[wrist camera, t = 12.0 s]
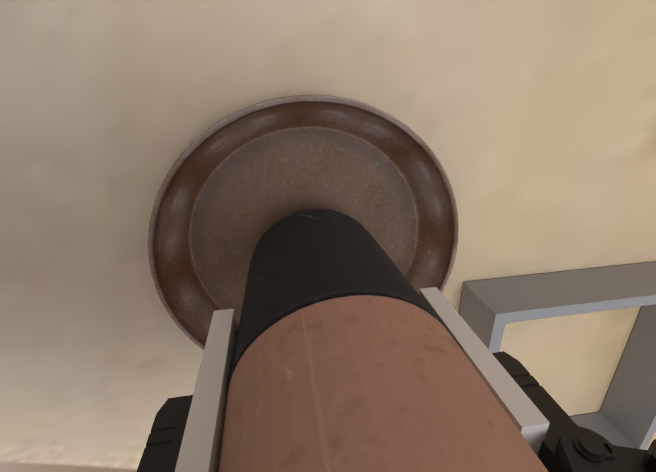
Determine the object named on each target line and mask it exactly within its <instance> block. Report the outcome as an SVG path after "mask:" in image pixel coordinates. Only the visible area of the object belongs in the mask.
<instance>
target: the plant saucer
mask: <svg viewBox="0 0 656 472" xmlns="http://www.w3.org/2000/svg"><path fill="white" fill-rule="evenodd" d="M309 209H328V210H333V211H337V212H341V213H343V214H346V215H348V216H350V217H352V218H353V219H355V220H356V221H358V222H359V223H360V224H361V225H362V226H363V227H364V228H365V229H366V230H367V231H368V232H369V233H370V234H371V235H372V236H373V238H374V239H375V240H376V241H377V242H378V244H379V245H380V246H381V247H382V249H383V250H384V251H385V252H386V254H387V255H388V256H389V257H390V259H391V260H392V261H393V262H394V264H395V265H396V266H397V268H398V269H399V270H400V271H401V273H402V274H403V275H404V276H405V278H406V279H407V280H408V281H409V283H410V284H411V285H412V286H413V288H414V289H415V290H416V291H417V293H418V294H419V289H422V288H431V287H437V288H438V290H439V291H440V292H441V293H442V291H443V289H444V287H445V285H446V283H447V281H448V278H449V276H450V273H451V270H452V267H453V264H454V260H455V255H456V251H457V244H458V213H457V207H456V201H455V197H454V193H453V190H452V187H451V184H450V182H449V179H448V177H447V175H446V173H445V171H444V169H443V167H442V165H441V163H440V162H439V160H438V159H437V157H436V156H435V154H434V153H433V152H432V150H431V149H430V148H429V147H428V146H427V144H426V143H425V142H424V141H423V140H422V139H421V138H420V137H419V136H418V135H417V134H416V133H415V132H413V131H412V130H411V129H410V128H409V127H407V126H406V125H405V124H403V123H402V122H400V121H399V120H397V119H396V118H394V117H393V116H391V115H389V114H387V113H385V112H383V111H381V110H379V109H376V108H374V107H372V106H369V105H367V104H364V103H361V102H358V101H354V100H350V99H346V98H340V97H334V96H327V95H300V96H290V97H283V98H278V99H273V100H269V101H266V102H262V103H259V104H256V105H253V106H250V107H247V108H245V109H243V110H241V111H239V112H237V113H235V114H233V115H230V116H229V117H227V118H225V119H223V120H222V121H220V122H218V123H217V124H215V125H214V126H213V127H211V128H210V129H208V130H207V131H206V132H204V133H203V134H202V135H201V136H200V137H199V138H197V139H196V140H195V141H194V142H193V143H192V144H191V145H190V146H189V147H188V148H187V149H186V150H185V151H184V152H183V154H182V155H181V156H180V157H179V159H178V160H177V161H176V162H175V164H174V165H173V167H172V168H171V170H170V171H169V173H168V175H167V176H166V178H165V180H164V182H163V184H162V186H161V189H160V191H159V193H158V195H157V198H156V200H155V204H154V208H153V211H152V215H151V220H150V226H149V239H148V250H149V262H150V268H151V273H152V277H153V280H154V283H155V287H156V289H157V292H158V294H159V296H160V299H161V301H162V303H163V305H164V306H165V308H166V310H167V312H168V313H169V315H170V316H171V318H172V319H173V320H174V321H175V323H176V324H177V325H178V326H179V328H180V329H181V330H182V331H183V332H184V333H185V334H186V335H187V336H188V337H189V338H190V339H191V340H192V341H193V342H194V343H195V344H197V345H198V346H199V347H201V348H202V349H203V350H204V349H205V345H206V341H207V337H208V333H209V329H210V325H211V320H212V316H213V312H214V311H217V310H226V309H234V313H235V320H236V326H237V332H238V328H239V323H240V317H241V311H242V305H243V299H244V294H245V288H246V282H247V276H248V271H249V266H250V262H251V258H252V255H253V252H254V249H255V247H256V245H257V243H258V242H259V240H260V238H261V237H262V236H263V235H264V233H265V232H266V231H267V230H268V229H269V228H270V227H271V226H272V225H273V224H275V223H276V222H278V221H279V220H281V219H282V218H284V217H286V216H288V215H290V214H293V213H296V212H299V211H303V210H309Z"/></svg>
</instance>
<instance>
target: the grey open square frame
mask: <svg viewBox="0 0 656 472" xmlns="http://www.w3.org/2000/svg"><path fill="white" fill-rule="evenodd" d="M638 306H642V308H641V310H640V313H639V315H638V318H637V320H636V323H635V325H634V328H633V330H632V333H631V335H630V338H629V340H628V343H627V345H626V348H625V350H624V353H623V355H622V358H621V360H620V363H619V365H618V367H617V370H616V372H615V375H614V377H613V380H612V382H611V385H610V387H609V390H608V392H607V395H606V397H605V400H604V402H603V405H602V407H601V410H600V412H594V413H588V414H582V415H576V416H570V418H571V419H572V420H573V421H574V422H575V423H576V424H577V425H578V426H580V427H584V428H587V429H590V430H592V431H594V432H596V433H598V434H600V435H601V436H603V437H604V438H605V439H607V440H608V441H609V442H610V443H611V444H613V445H616V446H622V447H629V448H636V449H642V450H646V448H647V447H648V445H649V443H650V441H651V439H652V437H653V435H654V433H655V431H656V261H655V262H646V263H636V264H627V265H618V266H608V267H599V268H589V269H580V270H570V271H561V272H552V273H542V274H533V275H523V276H514V277H504V278H495V279H486V280H476V281H467V282H464V283H463V289H462V296H461V302H460V309H459V315H460V316H461V317H462V318H463V320H464V321H465V322H466V323H467V324H468V326H469V327H470V328H471V329H472V330H473V332H474V333H475V334H476V335H477V336H478V337H479V339H480V340H481V341H482V342H483V343H484V345H485V346H486V347H487V348H488V349H489V351H490V352H491V353H496V352H499V349H500V345H501V340H502V336H503V331H504V327H505V323H510V322H518V321H526V320H534V319H542V318H550V317H558V316H566V315H574V314H582V313H590V312H598V311H606V310H614V309H622V308H630V307H638Z"/></svg>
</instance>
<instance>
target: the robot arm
mask: <svg viewBox="0 0 656 472" xmlns="http://www.w3.org/2000/svg"><path fill="white" fill-rule="evenodd" d="M419 295H420V296H421V298H422V299H423V300H424V301H425V303H426V304H427V305H428V306H429V308H430V309H431V310H432V311H433V313H434V314H435V315H436V316H437V318H438V319H439V320H440V321H441V323H442V324H443V326H444V327H445V328H446V329H447V331H448V332H449V333H450V335H451V336H452V338H453V339H454V340H455V342H456V343H457V345H458V346H459V347H460V349H461V350H462V352H463V353H464V354H465V356H466V357H467V358H468V360H469V361H470V363H471V364H472V365H473V367H474V368H475V370H476V371H477V372H478V374H479V375H480V377H481V378H482V379H483V381H484V382H485V384H486V385H487V386H488V388H489V389H490V391H491V392H492V393H493V395H494V396H495V398H496V399H497V400H498V402H499V403H500V405H501V406H502V407H503V409H504V410H505V412H506V413H507V414H508V416H509V417H510V419H511V420H512V421H513V423H514V424H515V426H516V427H517V428H518V430H519V431H520V433H521V434H522V435H523V437H524V438H525V440H526V441H527V442H528V444H529V445H530V447H531V448H532V449H533V451H534V452H535V454H536V455H537V456H538V458H539V459H540V461H541V462H542V463H543V465H544V466H545V468H546V469H547V470H548V472H656V439H655V440H653V442H652V443H651V445H650V447H649V449H648V450H642V449H636V448H629V447H622V446H616V445H613V444H611V443H610V442H609V441H608V440H607V439H605V438H604V437H603V436H601V435H600V434H598V433H596V432H594V431H592V430H590V429H587V428H584V427H580V426H578V425H577V424H576V423H575V422H574V421H573V420H572V419H571V418H570V417H569V416H568V415H567V414H566V413H565V411H564V410H563V409H562V408H561V407H560V406H559V405H558V404H557V403H556V402H555V400H554V399H553V398H552V397H551V396H550V395H549V394H548V393H547V392H546V391H545V389H544V388H543V387H542V386H539V383H538V382H537V381H536V380H535V378H534V377H533V376H530V373H529V372H528V371H527V370H526V369H525V368H524V366H523V365H522V364H521V363H520V362H519V361H518V360H516V359H515V358H513V357H512V356H510V355H509V354H507V353H506V352H504V351H503V352H496V353H491V352H490V351H489V349H488V348H487V347H486V346H485V345H484V343H483V342H482V341H481V340H480V339H479V337H478V336H477V335H476V334H475V333H474V332H473V330H472V329H471V328H470V327H469V326H468V324H467V323H466V322H465V321H464V320H463V318H462V317H461V316H460V315H459V314H458V312H457V311H456V310H455V309H454V308H453V306H452V305H451V304H450V303H449V302H448V300H447V299H446V298H445V297H444V296H443V294H442V293H441V292H440V291H439V290H438V288H437V287H431V288H422V289H419ZM237 334H238V332H237V326H236V320H235V313H234V309H226V310H217V311H214V312H213V316H212V320H211V325H210V329H209V333H208V337H207V341H206V345H205V349H204V353H203V357H202V361H201V366H200V370H199V374H198V378H197V382H196V386H195V390H194V394H193V395H190V396H183V397H176V398H168V400H167V401H166V402H165V404H164V405H163V406H162V407H161V409H160V410H159V411H158V413H157V414H156V417H155V420H154V423H153V426H152V429H151V434H150V435H149V437H148V440H147V443H146V448H145V449H144V452H143V455H142V458H141V461H140V464H139V467H138V470H137V472H218V470H219V461H220V453H221V445H222V436H223V428H224V419H225V411H226V403H227V395H228V388H229V381H230V374H231V369H232V363H233V357H234V351H235V346H236V340H237Z"/></svg>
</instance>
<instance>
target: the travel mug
mask: <svg viewBox="0 0 656 472" xmlns="http://www.w3.org/2000/svg"><path fill="white" fill-rule="evenodd" d="M218 472H548V470H547V469H546V468H545V466H544V465H543V463H542V462H541V461H540V459H539V458H538V456H537V455H536V454H535V452H534V451H533V449H532V448H531V447H530V445H529V444H528V442H527V441H526V440H525V438H524V437H523V435H522V434H521V433H520V431H519V430H518V428H517V427H516V426H515V424H514V423H513V421H512V420H511V419H510V417H509V416H508V414H507V413H506V412H505V410H504V409H503V407H502V406H501V405H500V403H499V402H498V400H497V399H496V398H495V396H494V395H493V393H492V392H491V391H490V389H489V388H488V386H487V385H486V384H485V382H484V381H483V379H482V378H481V377H480V375H479V374H478V372H477V371H476V370H475V368H474V367H473V365H472V364H471V363H470V361H469V360H468V358H467V357H466V356H465V354H464V353H463V352H462V350H461V349H460V347H459V346H458V345H457V343H456V342H455V340H454V339H453V338H452V336H451V335H450V333H449V332H448V331H447V329H446V328H445V327H444V326H443V324H442V323H441V321H440V320H439V319H438V318H437V316H436V315H435V314H434V313H433V311H432V310H431V309H430V308H429V306H428V305H427V304H426V303H425V301H424V300H423V299H422V298H421V296H420V295H419V294H418V293H417V291H416V290H415V289H414V288H413V286H412V285H411V284H410V283H409V281H408V280H407V279H406V278H405V276H404V275H403V274H402V273H401V271H400V270H399V269H398V268H397V266H396V265H395V264H394V262H393V261H392V260H391V259H390V257H389V256H388V255H387V254H386V252H385V251H384V250H383V249H382V247H381V246H380V245H379V244H378V242H377V241H376V240H375V239H374V238H373V236H372V235H371V234H370V233H369V232H368V231H367V230H366V229H365V228H364V227H363V226H362V225H361V224H360V223H359V222H358V221H356V220H355V219H353V218H352V217H350V216H348V215H346V214H343V213H341V212H337V211H333V210H328V209H309V210H303V211H299V212H296V213H293V214H290V215H288V216H286V217H284V218H282V219H281V220H279V221H278V222H276V223H275V224H273V225H272V226H271V227H270V228H269V229H268V230H267V231H266V232H265V233H264V235H263V236H262V237H261V238H260V240H259V242H258V243H257V245H256V247H255V249H254V252H253V255H252V258H251V262H250V266H249V271H248V276H247V282H246V288H245V294H244V299H243V305H242V311H241V317H240V323H239V328H238V334H237V340H236V346H235V351H234V357H233V363H232V369H231V374H230V381H229V388H228V395H227V403H226V411H225V419H224V428H223V436H222V445H221V453H220V461H219V470H218Z"/></svg>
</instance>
